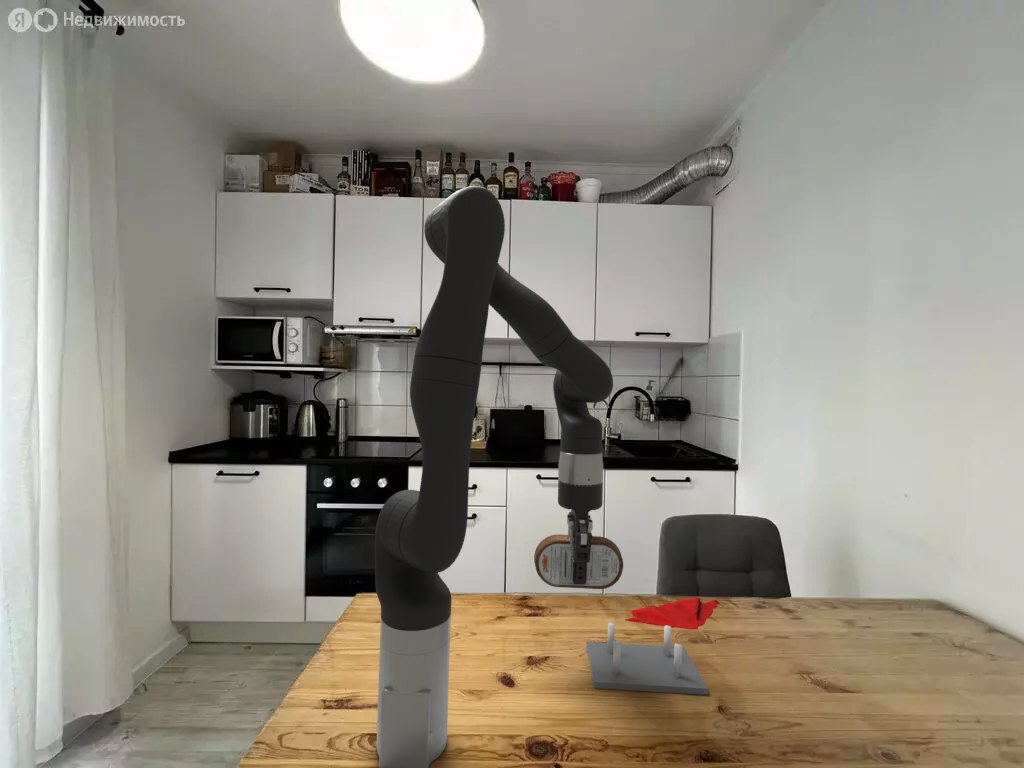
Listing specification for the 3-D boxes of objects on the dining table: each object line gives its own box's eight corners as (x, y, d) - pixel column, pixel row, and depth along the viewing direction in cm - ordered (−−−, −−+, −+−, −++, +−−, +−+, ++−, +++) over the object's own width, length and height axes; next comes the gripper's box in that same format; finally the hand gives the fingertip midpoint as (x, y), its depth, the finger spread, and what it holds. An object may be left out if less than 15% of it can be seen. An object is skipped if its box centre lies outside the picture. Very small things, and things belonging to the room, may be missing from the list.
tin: (621, 584, 82) (621, 535, 82) (624, 592, 79) (625, 541, 79) (533, 581, 82) (534, 532, 82) (533, 588, 79) (534, 537, 79)
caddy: (708, 695, 75) (709, 657, 75) (594, 688, 76) (595, 650, 76) (684, 652, 87) (685, 620, 87) (586, 647, 88) (587, 614, 88)
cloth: (633, 637, 94) (634, 625, 94) (607, 605, 107) (607, 595, 107) (751, 629, 98) (751, 618, 98) (712, 599, 112) (712, 590, 112)
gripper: (609, 488, 73) (607, 599, 74) (596, 470, 87) (594, 564, 88) (561, 486, 74) (559, 597, 74) (555, 469, 88) (553, 563, 88)
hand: (578, 579), depth 81 cm, fingers closed on tin, 2 cm apart
